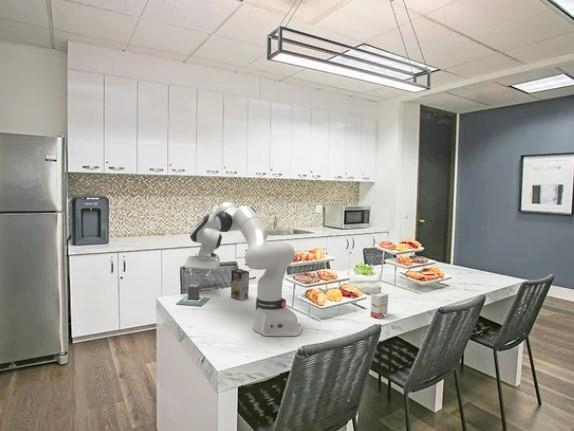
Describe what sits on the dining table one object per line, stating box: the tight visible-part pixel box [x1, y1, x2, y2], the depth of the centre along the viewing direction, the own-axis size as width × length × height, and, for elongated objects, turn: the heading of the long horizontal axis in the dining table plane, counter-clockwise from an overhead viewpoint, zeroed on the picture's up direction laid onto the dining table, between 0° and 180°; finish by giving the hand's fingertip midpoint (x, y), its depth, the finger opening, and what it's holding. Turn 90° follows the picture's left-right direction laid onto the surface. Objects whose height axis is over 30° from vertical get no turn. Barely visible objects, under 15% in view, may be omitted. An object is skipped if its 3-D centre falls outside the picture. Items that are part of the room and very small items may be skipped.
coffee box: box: [230, 268, 250, 302], centre depth 212 cm, size 9×6×16 cm
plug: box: [187, 284, 201, 300], centre depth 203 cm, size 5×4×8 cm
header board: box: [175, 295, 211, 307], centre depth 203 cm, size 14×14×2 cm
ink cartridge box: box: [370, 286, 389, 319], centre depth 190 cm, size 9×5×15 cm, turn 135°
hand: (199, 276), depth 212 cm, fingers open, 8 cm apart
